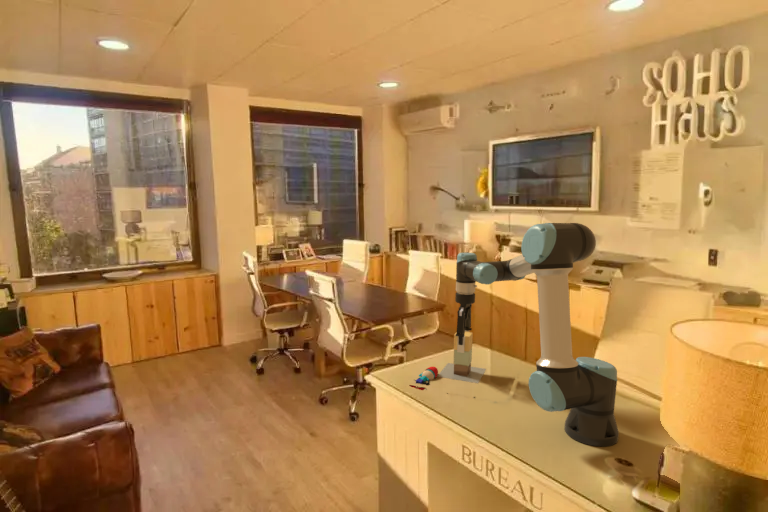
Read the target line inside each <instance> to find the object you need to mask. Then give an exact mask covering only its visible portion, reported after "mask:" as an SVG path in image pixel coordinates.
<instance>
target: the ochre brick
mask: <svg viewBox="0 0 768 512" xmlns="http://www.w3.org/2000/svg"><path fill="white" fill-rule="evenodd" d="M456 333H457V331H456V332H455V333H454V335H453V351H454V350H457V342H458V336H456ZM464 335H465V350H464V351H467V352H469V351H470V349H471V348H472V349H473V340H474V339H473V337H474V336H473V335H474V332H472V331H470V332H465V334H464Z"/></svg>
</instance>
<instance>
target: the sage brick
mask: <svg viewBox="0 0 768 512" xmlns="http://www.w3.org/2000/svg"><path fill="white" fill-rule="evenodd" d="M472 353H473V347H472V348H471V349H470V351H469V352H467V351H464V353H460V352H457V350H454V349H453V363H452V364H457V365H463V366H469V365H470V363H471V364H472V359H473V358H472V356H473V355H472Z"/></svg>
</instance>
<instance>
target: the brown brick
mask: <svg viewBox="0 0 768 512" xmlns="http://www.w3.org/2000/svg"><path fill="white" fill-rule="evenodd" d="M471 367H472V362H471V363H470V365H469V366H463V365H457V364H454V374H456V375H462V376H468V374H469V373H470V371H471Z"/></svg>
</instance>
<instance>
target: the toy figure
mask: <svg viewBox="0 0 768 512" xmlns="http://www.w3.org/2000/svg"><path fill="white" fill-rule="evenodd" d="M438 375H439V369H438V368H437V367H436V366H429V367H427V368H426V369H424V371H423V372H421V373H420V374H418V378H417V379H414V382H415V384H422V385H424V386H429V385H430V384H431V383H430V381H432V380H435V379H436V378H437V376H438ZM424 386H418V385H411V384H409V386H408V387H412V388H415V389H417V390H420V391H424V390H425V389H426V387H424Z"/></svg>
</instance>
